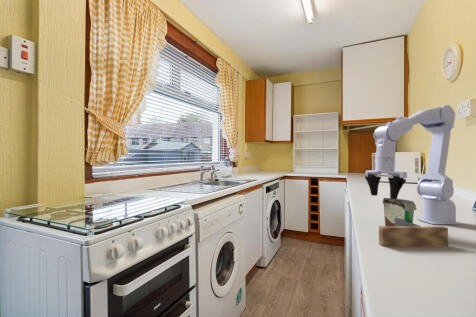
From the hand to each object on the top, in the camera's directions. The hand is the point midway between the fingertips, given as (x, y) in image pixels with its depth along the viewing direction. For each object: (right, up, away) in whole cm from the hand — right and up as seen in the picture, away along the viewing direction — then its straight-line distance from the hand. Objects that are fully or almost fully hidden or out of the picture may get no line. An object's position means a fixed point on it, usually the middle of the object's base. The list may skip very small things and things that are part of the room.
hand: (383, 197), depth 82 cm
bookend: (-3, -10, -12) cm, 16 cm away
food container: (+4, -11, -4) cm, 12 cm away
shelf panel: (-3, -10, -18) cm, 21 cm away
